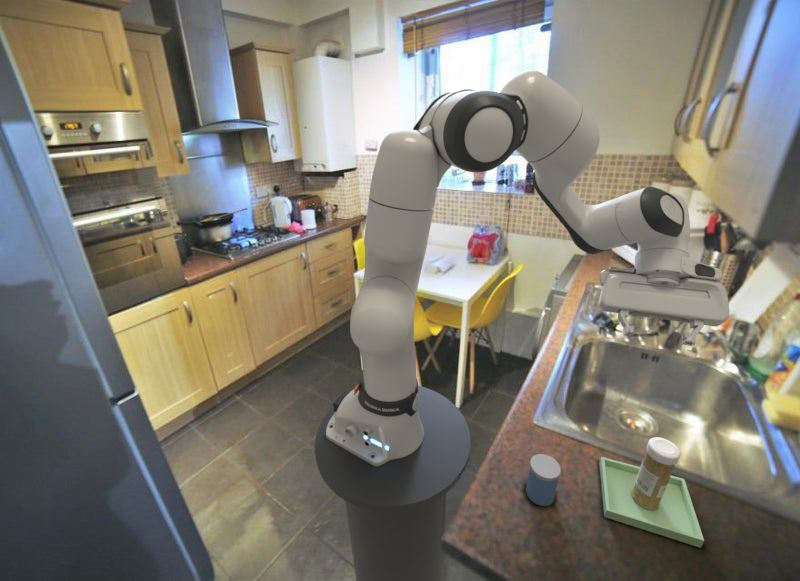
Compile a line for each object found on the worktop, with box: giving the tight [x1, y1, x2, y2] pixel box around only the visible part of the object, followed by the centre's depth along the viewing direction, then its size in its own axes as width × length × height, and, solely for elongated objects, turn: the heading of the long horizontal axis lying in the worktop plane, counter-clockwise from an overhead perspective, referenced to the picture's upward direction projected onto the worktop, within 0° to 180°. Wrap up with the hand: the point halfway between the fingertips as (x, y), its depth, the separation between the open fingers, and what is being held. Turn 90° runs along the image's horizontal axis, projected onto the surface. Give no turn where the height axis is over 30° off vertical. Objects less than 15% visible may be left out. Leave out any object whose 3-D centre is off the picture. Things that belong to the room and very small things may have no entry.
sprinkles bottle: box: [631, 436, 681, 510], centre depth 65 cm, size 5×5×14 cm
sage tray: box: [598, 456, 705, 549], centre depth 67 cm, size 14×12×2 cm
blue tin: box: [525, 453, 562, 507], centre depth 68 cm, size 5×5×8 cm
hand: (657, 340), depth 67 cm, fingers open, 8 cm apart
